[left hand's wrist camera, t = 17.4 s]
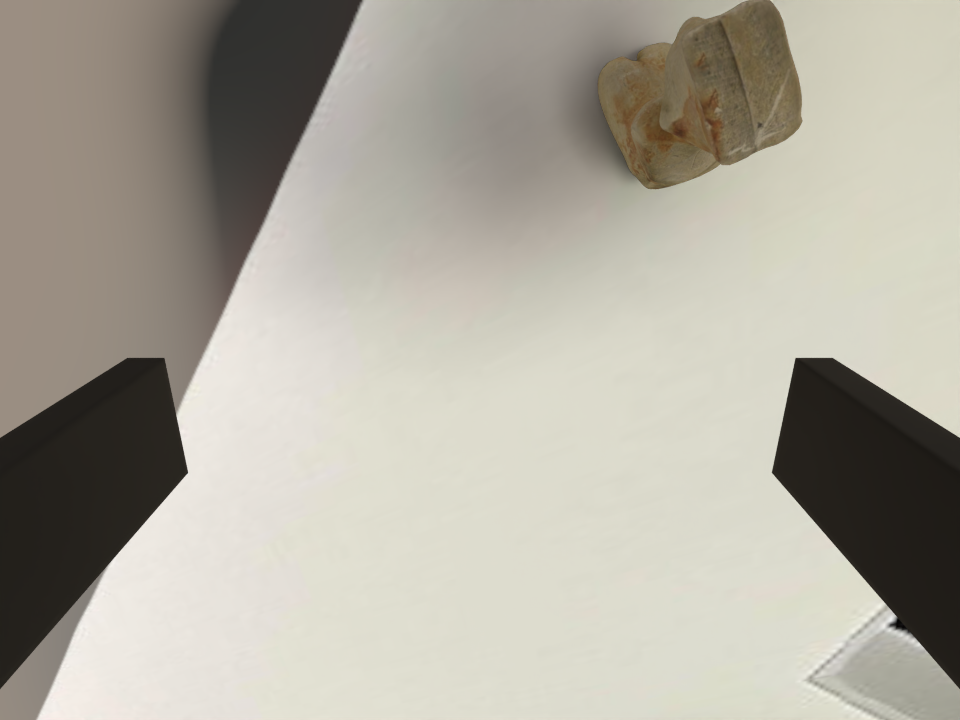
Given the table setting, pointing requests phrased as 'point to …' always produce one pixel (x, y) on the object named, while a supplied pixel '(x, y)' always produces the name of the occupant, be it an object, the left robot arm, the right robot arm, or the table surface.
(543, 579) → the table surface
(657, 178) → the sculpture
